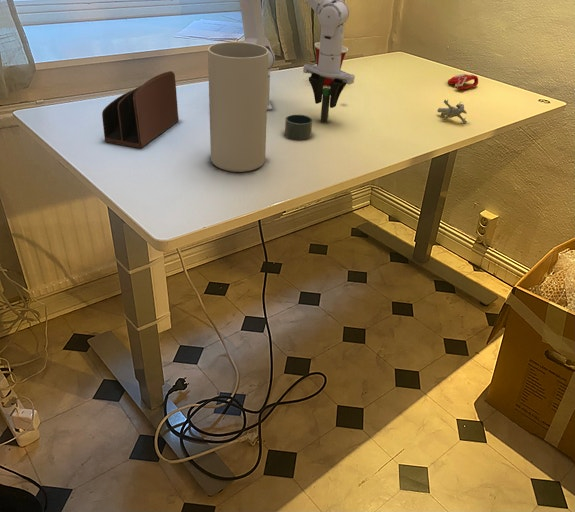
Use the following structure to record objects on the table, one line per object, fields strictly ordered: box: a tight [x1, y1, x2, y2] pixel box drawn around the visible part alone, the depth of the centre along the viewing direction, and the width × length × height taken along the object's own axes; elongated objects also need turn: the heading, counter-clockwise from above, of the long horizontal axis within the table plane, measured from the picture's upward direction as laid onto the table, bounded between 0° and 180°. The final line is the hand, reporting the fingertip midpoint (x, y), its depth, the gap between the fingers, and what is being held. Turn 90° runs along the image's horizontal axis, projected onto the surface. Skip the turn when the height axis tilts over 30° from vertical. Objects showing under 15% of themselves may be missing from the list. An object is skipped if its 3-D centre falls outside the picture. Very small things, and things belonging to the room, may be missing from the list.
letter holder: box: [101, 70, 180, 149], centre depth 136 cm, size 10×20×14 cm, turn 163°
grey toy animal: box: [437, 99, 468, 124], centre depth 156 cm, size 10×6×9 cm
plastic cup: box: [314, 41, 349, 87], centre depth 177 cm, size 11×11×12 cm
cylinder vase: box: [207, 41, 269, 173], centre depth 121 cm, size 12×12×25 cm
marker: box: [319, 87, 331, 124], centre depth 149 cm, size 2×2×9 cm
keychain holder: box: [447, 73, 479, 90], centre depth 184 cm, size 12×4×10 cm
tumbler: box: [284, 114, 313, 141], centre depth 142 cm, size 7×7×4 cm
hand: (325, 104), depth 149 cm, fingers open, 4 cm apart
